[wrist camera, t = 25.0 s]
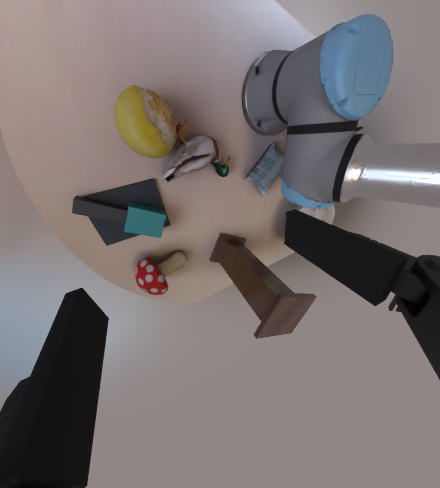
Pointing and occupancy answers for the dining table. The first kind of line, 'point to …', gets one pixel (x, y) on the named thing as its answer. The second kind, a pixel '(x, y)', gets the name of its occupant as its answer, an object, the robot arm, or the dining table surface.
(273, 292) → the stand
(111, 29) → the dining table surface
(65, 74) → the dining table surface
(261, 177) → the packaged food
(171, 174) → the decorative duck model
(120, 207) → the teal long block
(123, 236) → the mat
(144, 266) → the decorative mushroom
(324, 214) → the bowl
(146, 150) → the fruit
